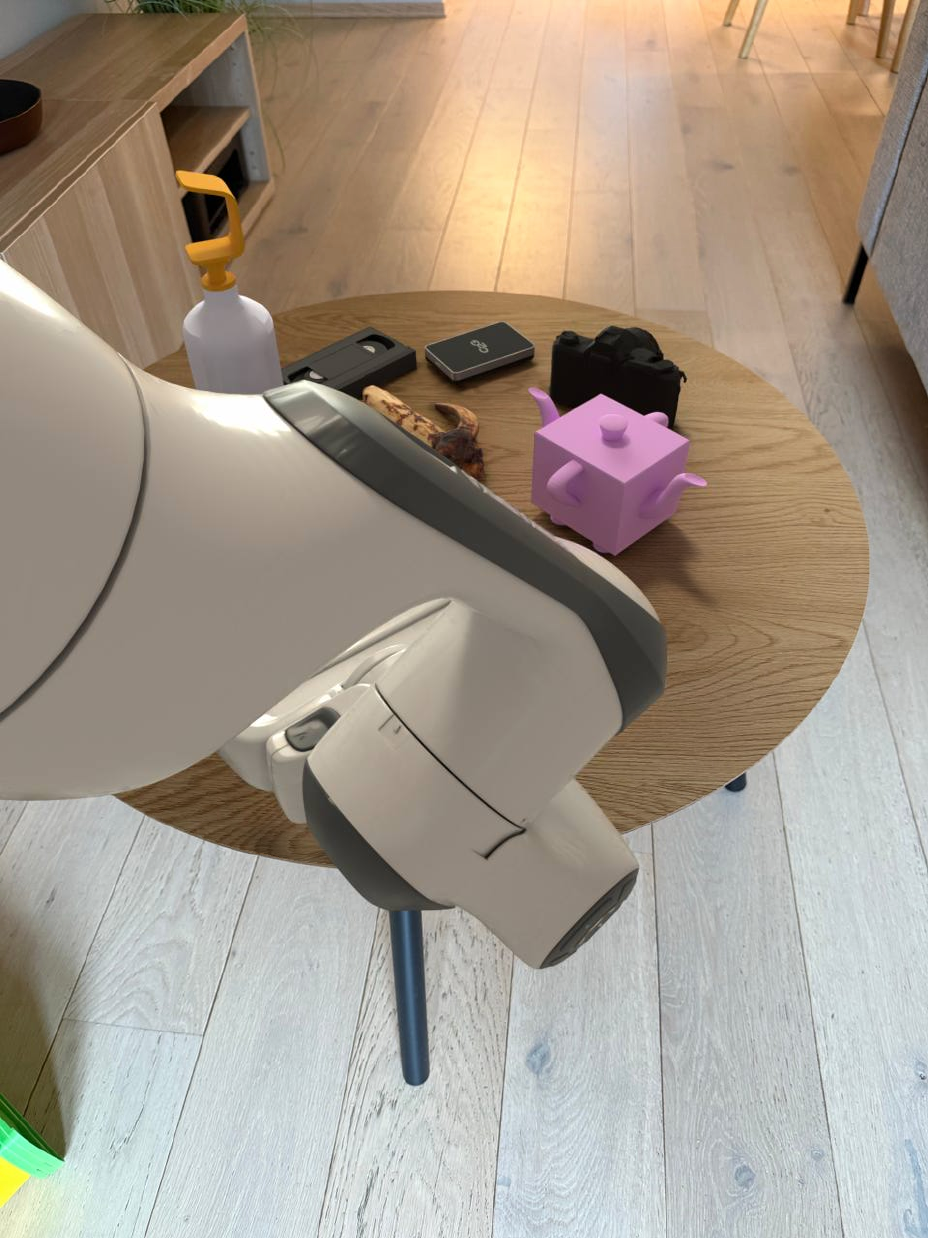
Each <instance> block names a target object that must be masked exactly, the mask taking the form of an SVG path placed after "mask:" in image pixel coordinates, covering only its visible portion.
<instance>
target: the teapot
mask: <svg viewBox="0 0 928 1238" xmlns="http://www.w3.org/2000/svg"><path fill="white" fill-rule="evenodd" d="M528 393H529V394H530V395H531V397H532V398H533V400H534V401H535V403H536V405H537V407H538V408H539V413H540V418H541V428H540V429H538V430H535V432H534V434H533V454H532V472H531V473H532V474H531V492H530V493H531V494H530V495H531V496H530V503H531V504H533V505H534V506H536V507H537V508H539V509H540V510H541V511H544V512H545V513H547V514H548V515H550V520H551V522H552V523H554V524H555V525H558V526H567V527H569V528H571V529H572V530H574V531H575V532H576V533H578V534H580V536H583V537H584V538H586V539H587V540H589V541H591V542H592V546H593V548H594V549H595V550H596V551H597V552H600V553H603V554H611V555H613V556H617V555H618V554H620V553H621V552H622V551H624V550H625V549H626V548H628V547H629V546H630V545H632V544H634V543H635V542H636V541H638V540H639V539H640V538H642V537H643V536H645V535H646V534H648V533H649V532H650V531H652V530H653V529H655V528H656V527H657V526H659V525H661V524H662V523H663V522H665V521H666V520H668V519H669V518H670V517H672V516H673V515H675V514H676V513H678V508H679V505H680V504H679V503H680V499H681V498H682V495H683V494H684V492H685V491H686V490H687V489H689V488H691V487H698V488H699V487H705V486H707V485H708V482H707V481H706V480H705V479H704V478H703V477H700V476H698V475H697V474H693V473H690V472H686V469H687V468H686V467H687V461H688V457H689V452H690V447H691V440H690V439H688V438H686V437H684V436H682V435H681V434H679V433H677V432H675V431H673V430H672V429H671V430H669V429H668V428H667V426H668V417H667V416H666V415H665V414H664V413H660V412H654V413H651V414H648V415H646V416H643V415H641V414H639V413H637V412H635V411H633V410H632V409H630V408H628V407H626V406H624V405H622V404H620V403H618V402H616V401H614V400H612V399H610V398H608V397H606V396H604V395H602V394H600V395H598V396H596V397H595V398H593V399H591V400H590V401H588V402H586V403H584V404H582V405H581V406H579V407H577V408H575V409H571V410H570V411H568V412H567V413H565V414H563V415H561V416H560V414H559V412H558V409H557V407H556V405H555V404H554V403H555V402H554V401H552V399H551V398H550V395H548V394H547V393H546V392H545V391H543V390H542V389H539V388H537V387H529V388H528Z"/></svg>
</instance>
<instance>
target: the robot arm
mask: <svg viewBox="0 0 928 1238" xmlns="http://www.w3.org/2000/svg"><path fill="white" fill-rule="evenodd" d="M667 639H668V638H667V630H666V627H665V626H664V625H663V624H662V623H661V620H660V618H659V616H658V614H657V612H656V610H655V609H654V607H653V605H652V604H651V601H649V599H648V598H647V596H646V595H645V594H644V593H643V591H642V590H641V589H640V588H639V587H638V585H636V583H634V582H633V581H632V580H631V579H630V578H629V577H628V576H627V575H626V574H625V573H623V571H621V570H620V569H619V568H618V567H616V566H615V565H614V564H613V563H612V562H610V561H609V560H607V559H606V558H604V557H603V556H601V555H600V554H598V553H597V552H595V551H594V550H591V549H589V548H587V547H586V546H583V545H581V544H578V543H576V542H574V541H571V540H568V539H565V538H562V537H558V536H555V534H553V533H552V532H551V531H549V530H548V529H547V528H545V527H544V526H542V525H540V524H539V523H537V522H536V521H534V520H533V519H531V518H530V517H529V516H528V515H526V514H525V513H523V512H522V511H520V510H519V509H517V508H516V507H515V506H513V504H510V503H509V502H507V500H505V499H504V498H502V496H499V495H498V494H497V493H495V492H494V491H493V490H491V489H490V488H488V486H486V485H485V484H483V483H481V482H480V481H479V480H476V479H475V478H473V477H472V476H471V475H469V474H468V473H466V472H465V471H464V470H462V469H461V468H460V467H458V466H457V465H455V464H454V463H453V462H451V461H450V460H449V459H447V458H446V457H444V456H443V455H442V454H440V453H439V452H437V451H436V450H434V449H433V448H432V447H430V446H429V445H427V444H426V443H424V442H423V441H422V440H420V439H419V438H417V437H416V436H414V435H413V434H411V433H410V432H408V431H407V430H405V429H404V428H402V427H401V426H399V425H398V424H396V423H395V422H393V421H392V420H390V419H389V418H387V417H386V416H384V415H383V414H381V413H380V412H378V411H376V410H375V409H373V408H372V407H370V406H368V405H366V403H365V402H364V401H361V400H359V399H357V398H353V397H351V396H349V395H347V394H345V393H343V392H340V391H337V390H335V389H332V388H330V387H327V386H324V385H321V384H317V383H314V382H310V381H307V380H302V381H298V382H295V383H291V384H288V385H284V386H281V387H277V388H273V389H270V390H266V391H263V394H257V395H239V394H223V393H214V392H207V391H201V390H196V388H190V387H186V386H182V385H179V384H175V383H172V382H169V381H166V380H164V379H161V378H159V377H157V376H155V375H153V374H151V373H149V372H146V371H145V370H143V369H141V368H139V367H138V366H136V365H135V364H133V363H132V362H131V361H129V359H127V358H125V357H124V356H123V355H122V354H121V353H119V352H118V351H117V350H116V349H114V348H113V347H112V346H111V345H109V344H108V343H107V342H106V341H105V340H104V339H102V338H101V337H100V336H99V335H97V334H96V333H95V332H94V331H92V330H91V329H90V328H89V327H87V326H86V325H85V324H84V323H83V322H82V321H81V320H80V319H78V318H77V317H75V316H74V315H73V314H72V313H70V311H68V310H67V309H65V308H64V307H63V306H62V305H61V304H60V303H59V302H57V301H56V300H55V299H54V298H53V297H51V296H50V295H49V294H47V293H46V292H45V291H44V290H43V289H41V288H40V287H39V286H37V285H36V284H35V283H33V282H32V281H31V280H29V279H28V278H26V277H25V276H24V275H23V274H22V273H20V272H18V271H17V270H15V268H14V267H12V266H11V265H9V264H8V263H7V262H5V261H4V260H2V259H1V258H0V800H3V801H17V802H18V801H19V802H41V801H42V802H43V801H44V802H47V801H49V802H50V801H66V800H78V799H89V798H100V797H104V796H111V795H116V794H122V793H125V792H129V791H133V790H137V789H140V788H144V787H147V786H150V785H152V784H155V783H157V782H160V781H162V780H165V779H168V778H170V777H173V776H175V775H176V774H178V773H181V772H183V771H185V770H187V769H189V768H191V767H193V766H194V765H196V764H198V763H199V762H201V761H202V760H204V759H206V758H208V757H209V756H211V755H213V754H215V753H216V754H217V755H218V756H219V757H220V758H221V759H222V760H223V762H225V764H226V765H227V766H228V767H229V768H231V769H232V770H233V772H234V773H236V774H237V776H239V778H241V780H243V781H244V782H245V783H247V784H248V785H250V786H252V787H253V788H255V789H258V790H261V791H265V792H273V793H274V797H275V798H276V801H277V802H278V805H279V806H280V808H281V810H282V812H283V813H284V815H285V817H286V818H287V819H288V821H290V822H291V823H293V824H299V825H301V824H306V826H307V828H308V830H309V831H310V833H311V834H312V836H313V838H314V839H315V840H316V842H317V843H318V845H319V846H320V848H321V849H322V850H323V852H324V854H326V855H327V857H328V858H329V860H330V861H331V862H332V863H333V865H334V866H335V867H336V868H337V870H338V871H339V872H340V874H341V875H342V876H343V877H344V879H345V880H346V881H347V882H348V883H349V885H351V887H352V888H353V889H354V890H355V891H356V892H357V893H358V894H359V895H360V896H361V897H362V898H363V899H364V900H366V902H368V903H369V904H371V905H373V906H375V907H377V908H379V909H382V910H385V911H388V912H413V911H414V912H415V911H417V912H420V911H421V912H422V911H427V912H429V911H445V910H454V909H456V907H458V908H459V909H461V910H462V911H464V912H466V913H468V914H469V915H471V916H473V917H474V918H475V919H476V920H478V922H479V923H481V924H482V925H483V926H484V927H485V928H486V929H487V930H488V931H489V932H490V933H491V934H492V935H493V936H495V938H497V939H498V940H499V941H500V942H501V943H502V944H503V945H504V946H505V947H506V948H507V949H508V950H510V952H511V953H513V954H514V955H515V956H516V957H517V958H518V959H519V960H520V961H521V962H522V963H523V964H525V965H526V966H528V967H529V968H532V969H534V970H545V969H548V968H550V967H551V968H554V967H555V966H557V965H559V964H561V963H563V962H565V961H566V960H567V959H568V958H570V957H571V956H573V955H574V954H575V953H577V952H578V950H579V949H580V948H581V947H583V946H584V944H586V943H587V942H588V941H590V940H591V938H592V937H594V935H595V934H596V933H597V932H598V931H599V930H600V929H601V928H602V927H603V926H604V925H605V924H606V923H607V921H608V920H609V919H610V918H611V917H613V915H615V913H616V912H617V911H618V910H619V909H620V907H621V906H622V904H623V903H624V902H625V901H626V900H627V899H628V898H629V896H630V895H631V893H632V892H633V890H634V887H635V885H636V884H637V881H638V879H637V878H638V875H639V871H640V862H639V860H638V859H637V857H636V855H635V854H634V852H633V850H632V849H631V848H630V846H629V845H628V843H627V842H626V840H625V839H624V837H623V836H622V834H621V833H620V832H619V830H618V829H617V828H616V827H615V825H614V824H613V822H612V821H611V820H610V819H609V818H608V816H607V814H605V812H604V810H602V808H601V807H600V805H599V804H598V803H597V802H596V801H595V799H594V798H593V797H592V796H591V794H589V792H588V791H587V790H586V789H585V788H584V786H583V785H582V784H581V783H580V782H579V781H578V780H577V779H576V776H577V775H578V774H579V773H580V772H581V771H582V770H583V769H584V768H585V767H586V766H587V765H588V763H590V762H591V761H592V760H593V759H594V757H595V756H596V755H598V754H599V752H600V751H601V750H602V749H604V747H605V746H606V745H607V744H608V743H609V742H610V741H611V740H612V739H613V738H614V737H616V736H619V735H620V734H621V733H622V732H624V731H625V730H626V729H627V728H628V727H629V726H630V725H631V724H632V723H633V722H635V721H636V720H637V719H638V718H639V717H640V716H641V715H642V714H644V713H645V712H646V711H647V710H648V709H650V707H651V706H652V705H654V704H655V703H657V701H658V700H659V699H660V698H661V697H662V696H664V694H665V687H666V681H667V680H666V679H667V670H668V669H667V667H668V641H667Z"/></svg>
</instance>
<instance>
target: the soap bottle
mask: <svg viewBox="0 0 928 1238" xmlns="http://www.w3.org/2000/svg"><path fill="white" fill-rule="evenodd" d="M174 176H175V178H176V180H177V182H178V183H179V185H180V187H181V189H183V190H184V191H187V192H192V193H199V194H206V195H212V196H219V197H223V198H225V199H224V200H225V204H226V209H227V215H228V220H229V224H230V225H229V232H228V234H227V235H226V236H223V237H218V238H214V239H213V238H212V239H208V240H203V241H197V242H192V243H189V244H187V245H185V247H184V251H185V253H186V255H187V257H188V259H189V261H190V263H191V264H192V265H194V266H201V267H202V268H204V269H206V271H207V273H206V274H203V276H202V277H201V278H200V283H201V289H202V293H203V299H204V300H202V301H201V302H199V303H197V304H196V305H195V306H194V307H193V308H192V309H191V310H190V311H189V312H188V314H187V315H186V317H185V318H184V319H183V323H182V340H183V343H184V347H185V351H186V355H187V359H188V364H189V368H190V371H191V375H192V380H193V384H194V389H195V390H201V391H207V392H214V393H223V394H239V395H257V394H263V391H266V390H270V389H273V388H277V387H281V386H284V385H283V379H282V373H281V368H282V366H281V361H280V356H279V350H278V344H277V338H276V331H275V325H274V322H273V321H274V320H273V317H272V316H271V314H270V312H269V311H268V309H267V308H266V307H265V306H264V305H263V304H261V303H259V302H258V301H256V300H254V299H252V298H250V297H247V296H245V295H240V294H239V290H238V285H237V279H236V275H235V274H234V273H233V272H231V271H229V270H228V271H227V270H226V267H225V266H227V265H228V264H229V263H230V260H234V259H237V258H240V257H241V256H242V255H243V254H244V252H245V248H246V243H245V238H244V233H243V227H242V222H241V217H240V216H241V215H240V211H239V209H240V208H239V204H238V202H237V199H236V197H235V196H234V195H233V193H232V191H231V190H230V188H229V187H228V185H227V184H226V182H225V181H224V180H223V179H222V178H220V177H218V176H216V175H213V174H206V173H199V172H193V171H187V170H176V171H175V175H174Z"/></svg>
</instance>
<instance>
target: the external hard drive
mask: <svg viewBox="0 0 928 1238" xmlns="http://www.w3.org/2000/svg"><path fill="white" fill-rule="evenodd" d="M535 350H536V344H535V343H534V342H533V341H531V340H530V339H528V338H527V337H526V336H525V335H523V334H522V333H521V332H520V331H519V330H517V329H516V328H514V327H513V326H512V325H511V324H509V323H508V322H507V321H504V320H502V321H497V322H494V323H491V324H488V325H484V326H481V327H478V328H475V329H472V330H469V331H466V332H462V333H460V334H457V335H454V336H451V337H448V338H443V339H441V340H438V341H435V342H432V343H429V344H428V343H427V344H426V345H425V346H424V358H425V361H427V363H428V364H429V365H430V366H432V367H433V368H434V369H435V370H436V371H438V372H439V373H440V374H441V375H442V376H443V377H444V378H445V379H446V380H447V381H449V382H450V383H451V384H452V385H453V386H460V385H463V384H466V383H469V382H472V381H475V380H478V379H481V378H484V377H486V376H490V375H492V374H495V373H498V372H502V371H504V370H507V369H510V368H512V367H515V366H518V365H521V364H525V363H527V362H530V361H532V360H533V359H534V358H535Z"/></svg>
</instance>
